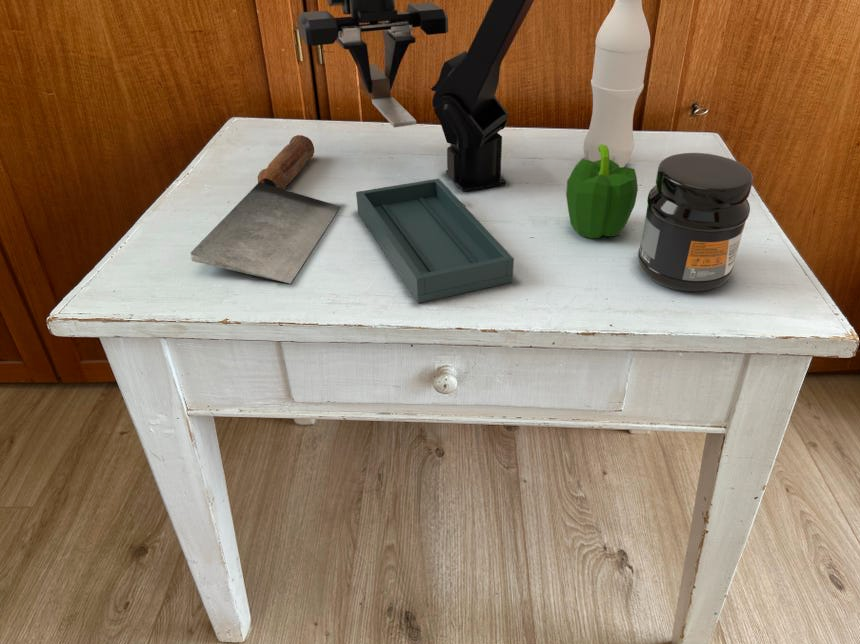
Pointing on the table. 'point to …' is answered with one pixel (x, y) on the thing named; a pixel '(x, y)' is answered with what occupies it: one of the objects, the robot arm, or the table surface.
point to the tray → (433, 240)
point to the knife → (386, 99)
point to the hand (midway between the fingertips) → (379, 91)
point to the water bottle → (617, 81)
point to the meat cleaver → (270, 223)
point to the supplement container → (694, 221)
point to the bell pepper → (600, 196)
